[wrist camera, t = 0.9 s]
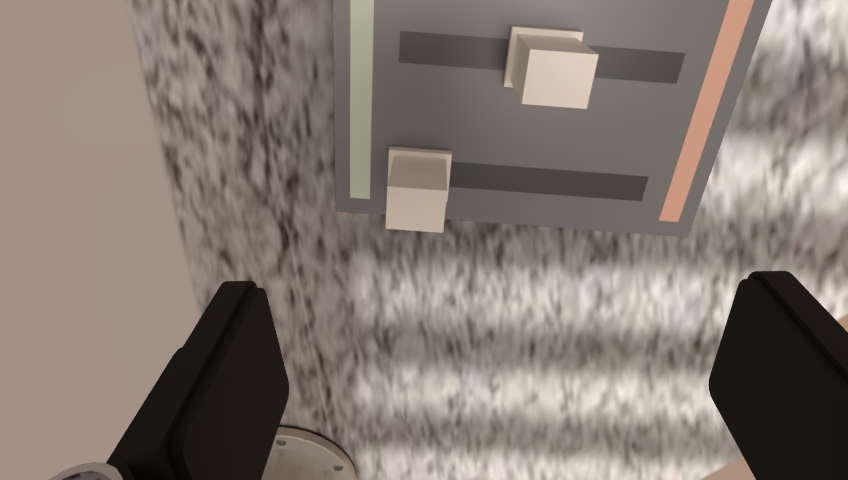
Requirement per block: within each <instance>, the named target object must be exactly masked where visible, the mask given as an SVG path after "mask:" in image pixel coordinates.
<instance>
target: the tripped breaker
mask: <svg viewBox="0 0 848 480" xmlns="http://www.w3.org/2000/svg"><path fill="white" fill-rule="evenodd" d="M583 33H584V32H582V31H579V30H566V29H553V28H540V27H527V26H515V25H511V31H510V38H509V45H508V52H507V59H506V66H505V73H504V81H503V85H504V87H512V88H514V89H515V92H516V94H517V96H518V98H519V100H520V102H521V104H528V105H541V106H554V107H567V108H580V109H587V106H588V101H589V97H590V92H591V88H592V83H593V78H594V74H595V69H596V65H597V60H598V56H599V54H597V53H596V52H594V51H593V50H592V49H590V48H589V47H588V46H586V45H585V44H584V43H582V38H583Z"/></svg>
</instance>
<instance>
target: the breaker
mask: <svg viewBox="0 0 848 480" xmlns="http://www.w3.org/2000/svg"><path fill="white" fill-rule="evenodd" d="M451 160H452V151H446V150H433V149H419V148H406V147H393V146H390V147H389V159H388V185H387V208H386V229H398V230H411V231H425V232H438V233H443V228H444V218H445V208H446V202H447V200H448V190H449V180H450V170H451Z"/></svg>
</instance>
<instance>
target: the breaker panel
mask: <svg viewBox="0 0 848 480" xmlns="http://www.w3.org/2000/svg"><path fill="white" fill-rule="evenodd" d="M771 2H772V0H333V52H334V128H335V204H336V211H341V212H355V213H368V214H382V215H386V208H387V185H388V159H389V147H390V146H393V147H406V148H419V149H433V150H446V151H452V160H451V170H450V180H449V190H448V200H447V202H446V208H445V218H444V219H449V220H463V221H476V222H490V223H503V224H517V225H530V226H544V227H557V228H571V229H585V230H598V231H612V232H625V233H639V234H652V235H666V236H679V237H688V234H689V231H690V229H691V226H692V223H693V220H694V218H695V215H696V212H697V209H698V206H699V204H700V201H701V198H702V195H703V192H704V190H705V187H706V184H707V181H708V178H709V176H710V173H711V170H712V167H713V164H714V162H715V159H716V156H717V153H718V150H719V148H720V145H721V142H722V139H723V137H724V134H725V131H726V128H727V125H728V123H729V120H730V117H731V114H732V111H733V109H734V106H735V103H736V100H737V97H738V95H739V92H740V89H741V86H742V83H743V81H744V78H745V75H746V72H747V69H748V67H749V64H750V61H751V58H752V56H753V53H754V50H755V47H756V44H757V42H758V39H759V36H760V33H761V30H762V28H763V25H764V22H765V19H766V16H767V14H768V11H769V8H770V5H771ZM511 25H515V26H527V27H540V28H553V29H566V30H579V31H582V32H584V33H583V38H582V43H584V44H585V45H586V46H588V47H589V48H590V49H592V50H593V51H594V52H596V53H597V54H599V56H598V60H597V65H596V69H595V74H594V78H593V83H592V88H591V92H590V97H589V101H588V106H587V109H580V108H567V107H554V106H541V105H528V104H521V102H520V100H519V98H518V96H517V94H516V92H515V89H514V88H512V87H504V85H503V81H504V73H505V66H506V59H507V52H508V45H509V38H510V31H511Z"/></svg>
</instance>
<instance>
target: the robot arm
mask: <svg viewBox="0 0 848 480" xmlns="http://www.w3.org/2000/svg"><path fill="white" fill-rule="evenodd" d="M709 391H710V395H711V397H712V399H713V401H714V403H715V405H716V407H717V409H718V410H719V412H720V414H721V416H722V418H723V420H724V422H725V423H726V425H727V427H728V429H729V431H730V433H731V434H732V436H733V438H734V440H735V442H736V444H737V445H738V447H739V449H740V451H741V453H742V455H743V456H744V458H745V460H746V462H747V464H748V466H749V467H750V469H751V471H752V473H753V474H754V477H755V479H756V480H848V332H847V331H846V330H845V329H844V328H843V327H842V326H841V325H840V324H839V323H838V322H837V321H836V320H835V319H834V318H833V317H832V316H831V315H830V313H829V312H828V311H827V310H826V309H825V308H824V307H823V306H822V305H821V304H820V303H819V302H818V301H817V300H816V299H815V298H814V297H813V296H812V295H811V294H810V293H809V291H808V290H807V289H806V288H805V287H804V286H803V285H802V284H801V283H800V282H799V281H798V280H797V279H796V278H795V277H794V276H793V275H792V274H791V273H789V272H787V271H755V272H752V273H751V274H750V275H749V276H748V279H744V280H742V281H741V282H740V283H739V285H738V288H737V291H736V294H735V298H734V301H733V304H732V307H731V310H730V314H729V317H728V320H727V323H726V326H725V330H724V333H723V336H722V339H721V342H720V346H719V349H718V352H717V355H716V358H715V362H714V365H713V368H712V371H711V374H710V378H709ZM288 395H289V382H288V378H287V374H286V370H285V366H284V362H283V358H282V354H281V350H280V346H279V342H278V338H277V334H276V330H275V327H274V323H273V319H272V315H271V311H270V307H269V303H268V299H267V295H266V292H265V290H264V289H263V288H257V286H256V284H255V282H253V281H226V282H223V283H222V284H221V286H220V287H219V289H218V291H217V292H216V294H215V295H214V297H213V299H212V300H211V302H210V304H209V305H208V307H207V308H206V310H205V312H204V313H203V315H202V317H201V318H200V320H199V321H198V323H197V325H196V326H195V328H194V330H193V331H192V333H191V334H190V336H189V338H188V339H187V341H186V343H185V344H184V346H183V347H182V348H180V349H178V350H177V352H176V353H175V354H174V355H173V357H172V358H171V360H170V361H169V363H168V365H167V367H166V368H165V370H164V371H163V373H162V374H161V376H160V377H159V379H158V381H157V382H156V384H155V385H154V387H153V389H152V390H151V392H150V393H149V395H148V397H147V398H146V400H145V402H144V403H143V405H142V406H141V408H140V409H139V411H138V413H137V414H136V416H135V418H134V419H133V421H132V423H131V424H130V426H129V427H128V429H127V430H126V432H125V434H124V435H123V437H122V438H121V440H120V442H119V443H118V445H117V446H116V448H115V450H114V451H113V453H112V454H111V456H110V458H109V459H108V461H107V462H106V463H95V462H93V463H88V464H82V465H78V466H75V467H73V468H70V469H68V470H65V471H63V472H61V473H60V474H58V475H56V476H55V477H53V478H51V479H50V480H356V477H357V476H356V473H355V469H354V466H353V465H352V463H351V461H350V459H349V458H348V457H347V456H346V455H345V454H344V453H343V451H342V450H340V449H339V448H338V447H336V446H335V445H334V444H333V443H331V442H329V441H328V440H326V439H324V438H322V437H320V436H318V435H315V434H312V433H310V432H307V431H303V430H299V429H294V428H285V427H279V424H280V421H281V418H282V415H283V412H284V409H285V406H286V403H287V400H288Z"/></svg>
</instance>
